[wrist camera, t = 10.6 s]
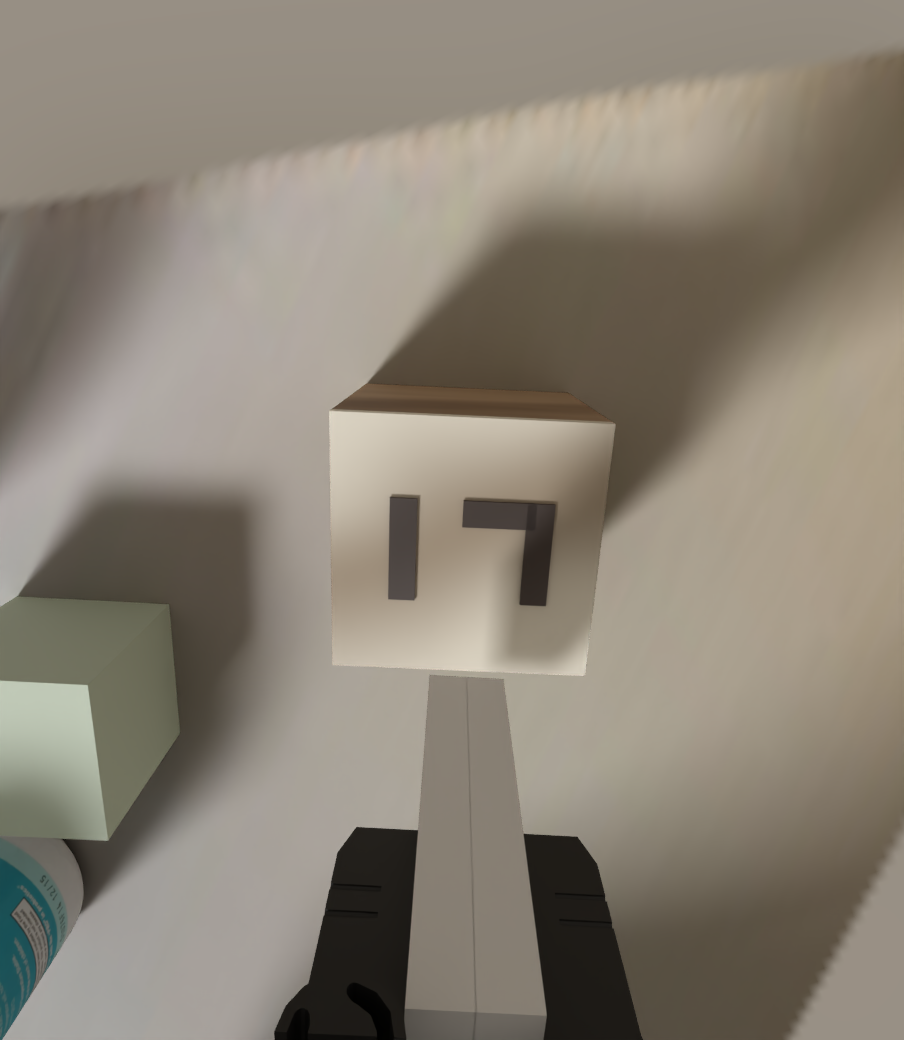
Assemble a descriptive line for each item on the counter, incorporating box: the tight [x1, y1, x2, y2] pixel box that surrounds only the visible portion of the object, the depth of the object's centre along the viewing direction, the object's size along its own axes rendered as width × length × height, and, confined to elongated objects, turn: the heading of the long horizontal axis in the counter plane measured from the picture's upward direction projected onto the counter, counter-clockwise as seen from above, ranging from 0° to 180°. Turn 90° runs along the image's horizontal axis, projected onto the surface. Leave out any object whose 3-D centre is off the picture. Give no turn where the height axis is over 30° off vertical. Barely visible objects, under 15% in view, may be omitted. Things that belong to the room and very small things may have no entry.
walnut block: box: [329, 384, 616, 676], centre depth 17 cm, size 6×6×6 cm
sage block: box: [0, 596, 180, 841], centre depth 20 cm, size 5×5×5 cm
